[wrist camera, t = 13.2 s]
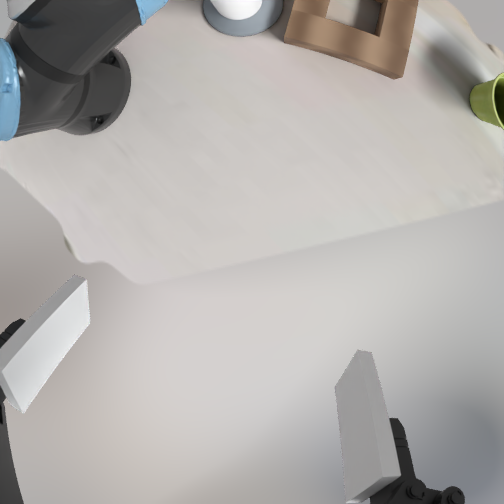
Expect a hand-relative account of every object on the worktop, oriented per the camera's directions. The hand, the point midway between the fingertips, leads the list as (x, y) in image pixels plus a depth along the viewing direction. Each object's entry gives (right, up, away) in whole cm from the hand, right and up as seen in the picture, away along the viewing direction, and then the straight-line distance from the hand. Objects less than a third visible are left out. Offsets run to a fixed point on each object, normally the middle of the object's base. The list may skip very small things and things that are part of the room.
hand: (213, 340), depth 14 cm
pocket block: (+16, +37, +17) cm, 44 cm away
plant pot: (+38, +28, +20) cm, 51 cm away
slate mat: (0, +38, +19) cm, 43 cm away
